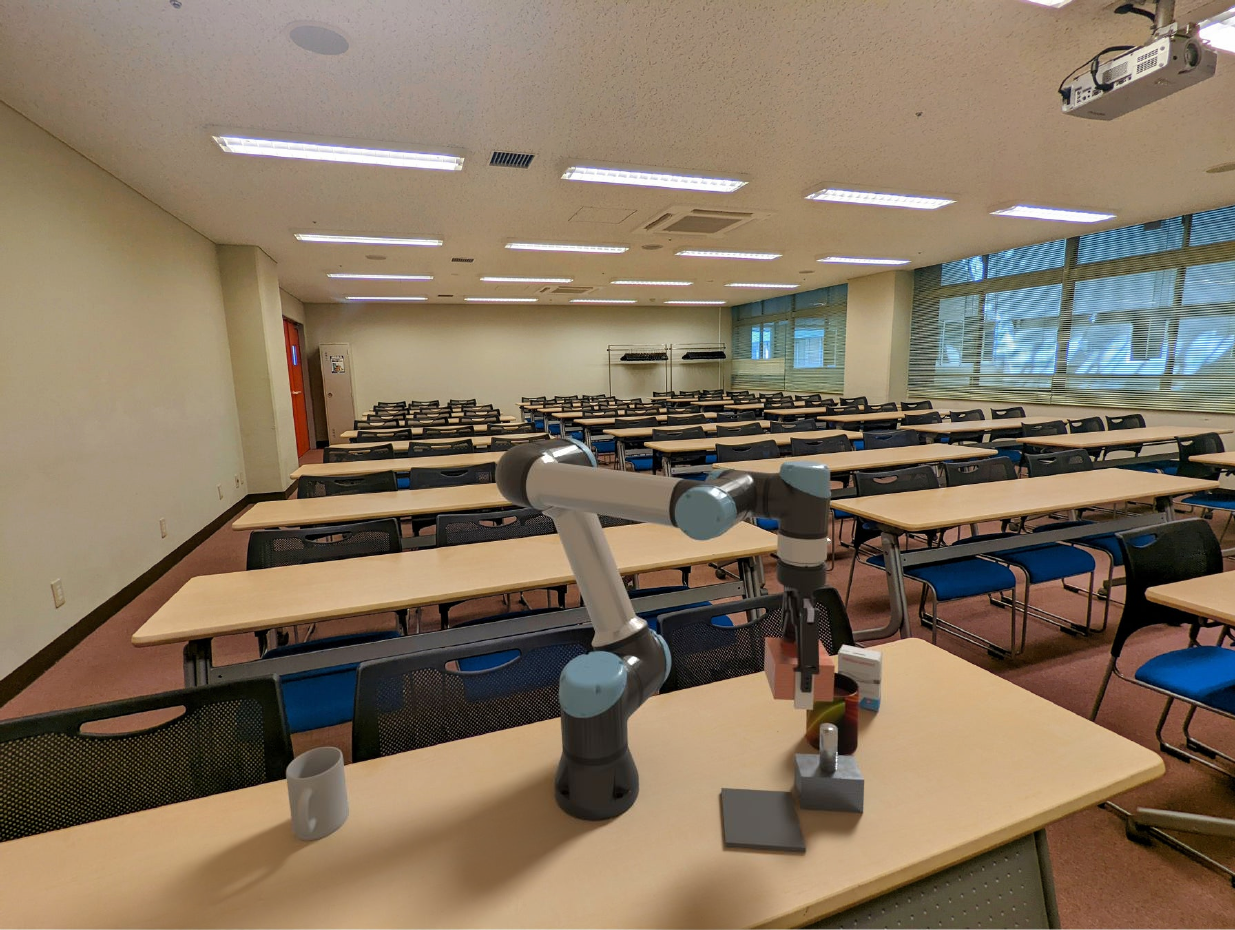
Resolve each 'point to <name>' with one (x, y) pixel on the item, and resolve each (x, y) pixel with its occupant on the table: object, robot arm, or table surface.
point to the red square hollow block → (783, 677)
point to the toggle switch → (828, 777)
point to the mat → (761, 820)
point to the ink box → (863, 673)
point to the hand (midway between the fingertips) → (796, 690)
